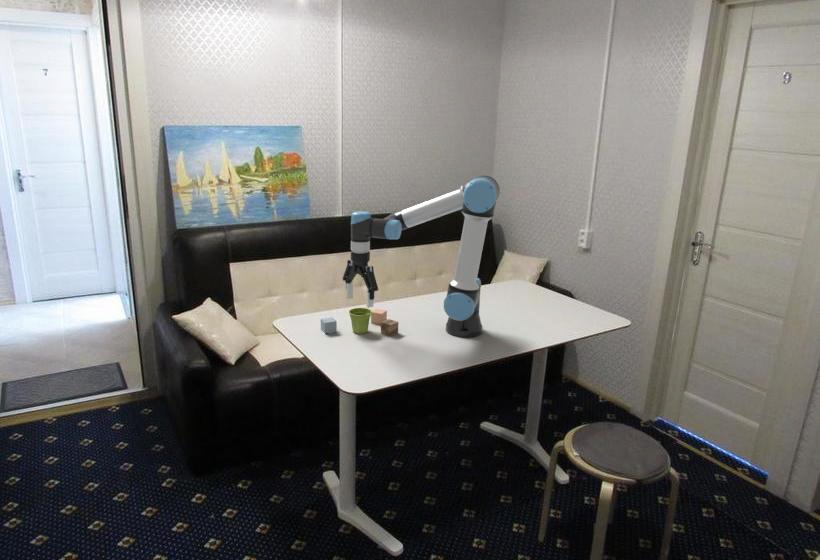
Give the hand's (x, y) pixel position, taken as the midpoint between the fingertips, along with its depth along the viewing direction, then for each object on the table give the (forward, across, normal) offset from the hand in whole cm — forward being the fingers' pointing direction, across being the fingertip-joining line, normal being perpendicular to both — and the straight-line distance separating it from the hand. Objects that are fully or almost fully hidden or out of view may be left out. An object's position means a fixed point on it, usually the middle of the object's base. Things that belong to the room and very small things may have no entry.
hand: (359, 302), depth 235 cm
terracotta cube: (+12, +4, -13) cm, 18 cm away
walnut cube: (+12, -9, -8) cm, 18 cm away
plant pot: (+12, 0, 0) cm, 13 cm away
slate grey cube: (+13, +8, +10) cm, 18 cm away
